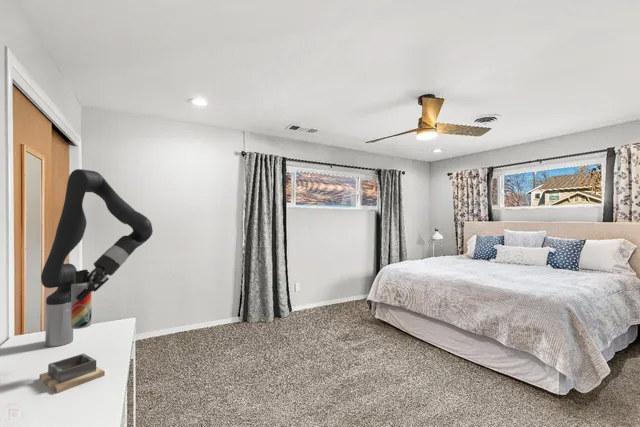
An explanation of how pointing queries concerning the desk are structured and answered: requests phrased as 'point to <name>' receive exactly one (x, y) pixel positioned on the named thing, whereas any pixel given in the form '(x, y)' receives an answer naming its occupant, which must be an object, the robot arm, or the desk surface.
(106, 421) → the desk surface
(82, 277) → the lotion bottle
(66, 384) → the socket board
